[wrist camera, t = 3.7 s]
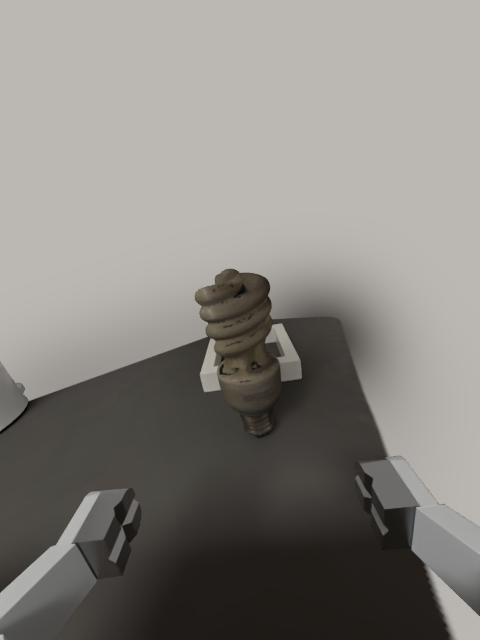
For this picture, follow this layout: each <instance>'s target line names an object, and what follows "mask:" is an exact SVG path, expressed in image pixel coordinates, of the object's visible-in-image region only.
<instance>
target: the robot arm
mask: <svg viewBox="0 0 480 640" xmlns="http://www.w3.org/2000/svg"><path fill="white" fill-rule="evenodd" d="M24 390H25V388H24V386H23V385H22V384H21V383H15V382H14V380H13V379H12V378H11V376H10V375H9V373H8V372H7V371H6V369H5V368H4V366H3V365H2V364H1V362H0V431H1V430H2V429H3V428H5V427H6V426H7V425H9V424H10V423H11V422H12V421H14V420H15V419H16V418H17V417H18V416H19V415H20V414H21V413H22V412H23V411H24V409H25V408H26V406H27V404H28V399H27V398H26V397H25V396H24V395H23V392H24ZM355 469H356V471H357V473H358V476H357V477H356V478H355V484H356V489H357V494H358V497H359V499H360V502H361V504H362V507H363V509H364V510H365V511H366V512H367V513H368V514H369V515H370V516H371V526H372V528H373V531H374V533H375V535H376V537H377V539H378V541H379V543H380V546H381V548H382V550H388V549H403V548H411V550H412V551H413V552H414V553H415V554H416V555H417V556H418V557H419V558H420V559H421V560H422V561H423V562H424V563H425V564H426V565H427V566H428V567H430V568H431V569H432V570H433V571H434V572H435V573H436V574H437V575H438V576H439V577H440V578H441V579H442V580H443V581H444V582H445V583H446V584H447V585H448V586H449V587H450V588H451V589H452V590H453V591H454V592H455V593H456V594H457V595H458V596H459V597H460V598H461V599H463V600H464V601H465V602H466V603H467V604H468V605H469V606H470V607H471V608H472V609H473V610H474V611H475V612H476V613H477V614H478V615H479V616H480V527H478V526H477V525H475V524H474V523H472V522H471V521H469V520H468V519H466V518H465V517H463V516H462V515H460V514H459V513H457V512H456V511H454V510H453V509H451V508H449V507H448V506H446V505H445V504H440V505H439V503H438V502H437V501H436V499H435V498H434V497H433V495H432V494H431V493H430V492H429V490H428V489H427V488H426V486H425V485H424V484H423V482H422V481H421V480H420V478H419V477H418V476H417V474H416V473H415V472H414V471H413V469H412V468H411V467H410V465H409V464H408V463H407V461H406V460H405V459H404V458H403V457H402V456H394V457H386V458H384V457H382V458H375V459H368V460H360V461H356V463H355ZM134 496H135V493H134V491H133V489H132V488H127V489H116V490H104V491H95V492H90V493H89V494H88V495H87V496H86V497H85V498H84V500H83V501H82V503H81V505H80V506H79V508H78V510H77V511H76V513H75V515H74V516H73V518H72V520H71V521H70V523H69V524H68V526H67V528H66V529H65V531H64V533H63V534H62V536H61V538H60V539H59V541H58V543H57V544H56V546H51V547H50V548H49V549H48V550H47V551H46V552H45V553H43V554H42V555H41V556H40V557H39V558H38V559H37V560H36V561H35V562H34V563H33V564H31V565H30V566H29V567H28V568H27V569H26V570H25V571H24V572H23V573H22V574H21V575H19V576H18V577H17V578H16V579H15V580H14V581H13V582H12V583H11V584H10V585H8V586H7V587H6V588H5V589H4V590H3V591H2V592H1V593H0V640H53V639H54V638H55V636H56V635H57V634H58V632H59V631H60V630H61V628H62V627H63V626H64V624H65V623H66V622H67V620H68V619H69V618H70V617H71V615H72V614H73V613H74V611H75V610H76V609H77V607H78V606H79V605H80V603H81V602H82V601H83V599H84V598H85V597H86V595H87V594H88V593H89V591H90V590H91V589H92V587H93V586H94V585H95V583H96V582H97V580H96V579H102V578H109V577H116V576H122V575H123V573H124V570H125V567H126V564H127V561H128V558H129V556H130V553H131V546H130V542H131V541H132V540H133V538H134V537H135V536H136V535H137V533H138V529H139V526H140V522H141V507H140V505H139V503H138V502H137V501H135V500H134Z"/></svg>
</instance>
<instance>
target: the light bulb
mask: <svg viewBox="0 0 480 640" xmlns="http://www.w3.org/2000/svg"><path fill="white" fill-rule="evenodd" d="M269 291H270V284H269V282H268V280H267V279H266V278H265V277H263V276H261V275H258V274H254V273H239V272H238V271H237V270H235V269H226V270H224V271H222V272H221V273H220V274H218V275H216V277H215V285H212V286H207V287H204V288H202V289H199V290H198V291H197V292H196V293H195V300H196V302H197V303H198V304H200V305H201V306H202V307H201V310H200V317H201V318H202V319H203V320H204V321H206V322H208V326H207V327H206V334H207V336H208V337H209V338H211V339H214V340H215V345H214V351H215V353H216V354H218V355H220V356H224V358H225V360H224V361H222V362H221V363H220V364H219V366H218V368H217V376H218V381H219V385H220V389H221V391H222V394H223V397H224V399H225V401H226V403H227V404H228V405H229V406H230V407H231V408H233V409H234V410H236V411H237V412H239V413H240V415H241V418H242V421H243V424H244V425H243V427H244V430H245V431H246V432H247V433H248V434H254V435H255V436H256V438H261V437H264V436H266V435H267V434H268V432H269V431H270V430H271V429H272V428H273V426H274V418H273V413H272V412H273V411H272V407H273V405H274V404H275V403H276V401H277V400H278V398H279V396H280V393H281V388H282V382H281V370H280V363H279V360H278V358H277V357H276V356H274V355H273V354H271V353H269V352H266V350H265V340H266V337H267V336H268V335H269V333H270V331H271V329H272V319H271V316H270V315H269V313H270V311H271V308H272V307H271V300H270V299H269V297H268V294H269Z"/></svg>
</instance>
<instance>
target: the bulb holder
mask: <svg viewBox="0 0 480 640" xmlns="http://www.w3.org/2000/svg"><path fill="white" fill-rule="evenodd" d="M272 342H276V344H277V346H278V349H279V352H280V355H281V357H277V358H278V360H279V363H280V370H281V382H282V381H289V380H296V379H302V372H301V361H300V359H299V357H298V355H297V353H296V351H295V349H294V347H293V345H292V343H291V341H290V339H289V337H288V335H287V333H286V331H285V329H284V327H283V325H282V324H276V325H272V329H271V331H270V333H269V335H268V336H267V337H266V340H265V343H272ZM214 345H215V340H214V339H210V342H209V346H208V349H207V352H206V356H205V359H204V363H203V366H202V369H201V373H200V377H201V381H202V385H203V389H204V392H210V391H217V390H221V389H220V385H219V381H218V376H217V368H218V366H219V364H220V363H221V357H222V356H220V355H218V354H216V353H215V351H214Z"/></svg>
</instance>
